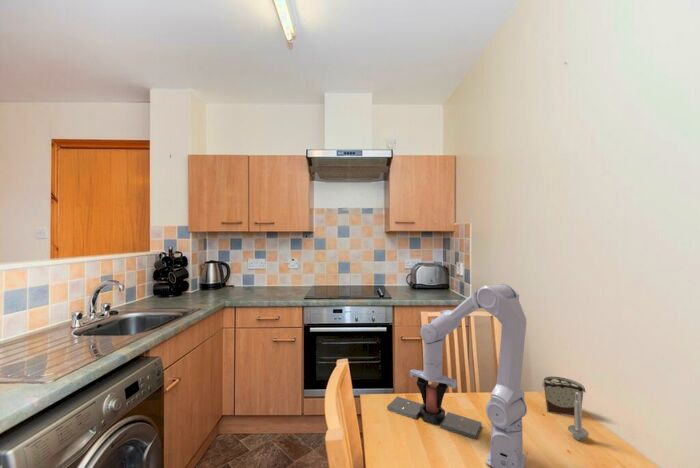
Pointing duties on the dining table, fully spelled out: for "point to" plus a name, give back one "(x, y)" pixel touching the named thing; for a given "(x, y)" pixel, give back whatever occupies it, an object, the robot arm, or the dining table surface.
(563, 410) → the food container
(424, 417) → the hinge
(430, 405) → the hinge pin
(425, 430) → the dining table surface
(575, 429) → the screw
